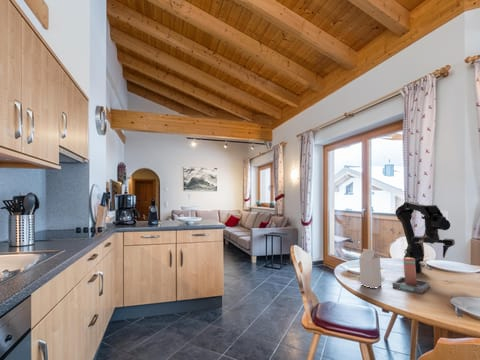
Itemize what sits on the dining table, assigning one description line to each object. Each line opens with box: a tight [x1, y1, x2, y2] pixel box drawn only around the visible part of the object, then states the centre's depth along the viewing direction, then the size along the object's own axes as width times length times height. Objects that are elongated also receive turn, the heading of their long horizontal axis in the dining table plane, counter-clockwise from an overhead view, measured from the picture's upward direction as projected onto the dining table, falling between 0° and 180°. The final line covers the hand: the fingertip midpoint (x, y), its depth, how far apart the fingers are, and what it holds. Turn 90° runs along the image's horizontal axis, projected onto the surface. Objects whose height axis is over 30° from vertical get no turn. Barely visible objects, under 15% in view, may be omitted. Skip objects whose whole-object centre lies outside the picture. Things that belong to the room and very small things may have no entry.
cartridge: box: [402, 256, 417, 287], centre depth 136 cm, size 5×5×14 cm
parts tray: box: [391, 276, 430, 295], centre depth 135 cm, size 13×13×2 cm
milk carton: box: [358, 248, 383, 288], centre depth 139 cm, size 7×7×19 cm
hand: (433, 256), depth 144 cm, fingers open, 9 cm apart
